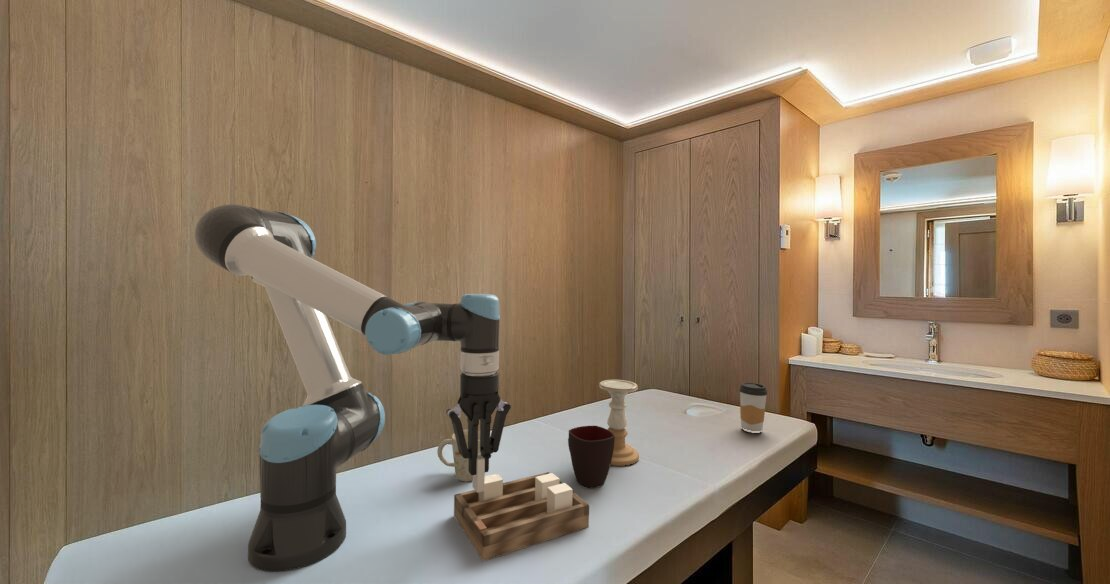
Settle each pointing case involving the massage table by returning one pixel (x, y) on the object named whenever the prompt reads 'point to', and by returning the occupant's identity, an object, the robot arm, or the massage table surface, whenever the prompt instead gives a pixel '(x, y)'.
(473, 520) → the wooden compartment tray
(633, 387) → the candle holder
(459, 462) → the mug
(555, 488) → the tab near
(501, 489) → the tab far
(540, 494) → the tab mid
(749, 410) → the coffee cup
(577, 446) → the mug
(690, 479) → the massage table surface
